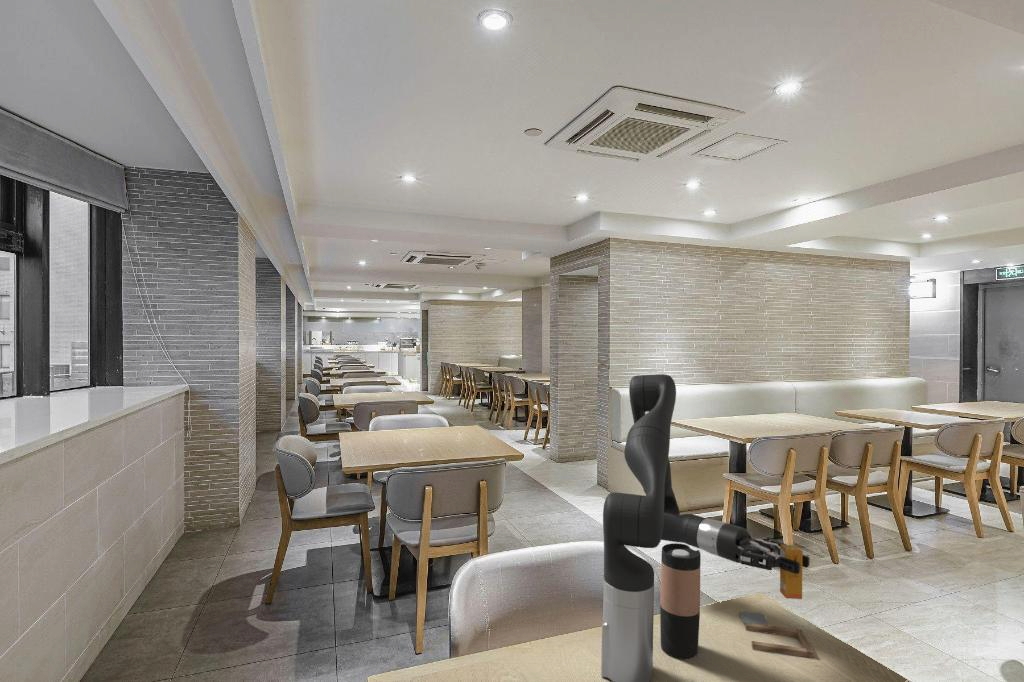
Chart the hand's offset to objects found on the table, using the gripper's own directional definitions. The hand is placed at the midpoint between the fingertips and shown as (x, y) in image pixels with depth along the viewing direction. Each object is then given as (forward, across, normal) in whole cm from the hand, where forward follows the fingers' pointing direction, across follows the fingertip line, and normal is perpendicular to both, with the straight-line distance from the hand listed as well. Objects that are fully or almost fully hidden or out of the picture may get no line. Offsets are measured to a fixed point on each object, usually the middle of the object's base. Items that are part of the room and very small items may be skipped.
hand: (803, 565), depth 108 cm
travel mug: (-16, -19, +18) cm, 30 cm away
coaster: (-11, +4, +17) cm, 21 cm away
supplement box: (-2, 0, +7) cm, 8 cm away
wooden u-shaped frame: (-5, -1, +17) cm, 18 cm away
